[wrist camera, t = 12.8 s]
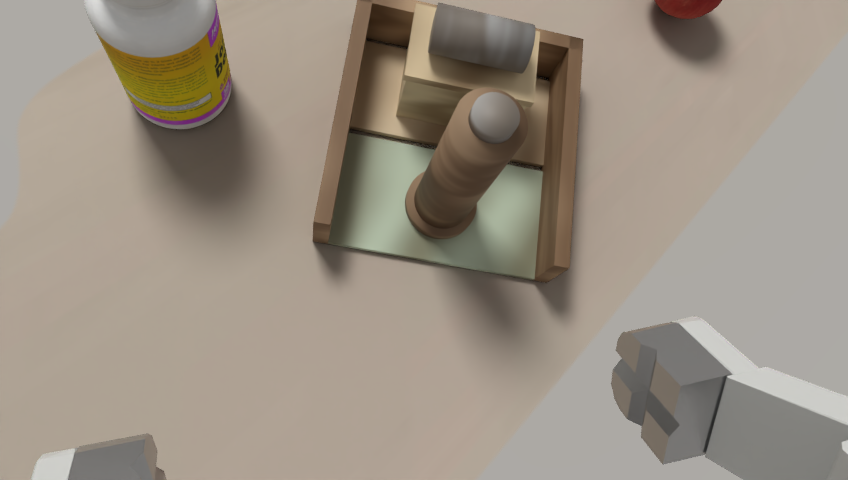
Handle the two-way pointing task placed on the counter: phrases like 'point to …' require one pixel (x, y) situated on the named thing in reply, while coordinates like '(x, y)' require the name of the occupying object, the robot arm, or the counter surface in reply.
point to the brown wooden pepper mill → (466, 162)
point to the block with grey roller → (464, 60)
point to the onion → (687, 7)
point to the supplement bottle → (166, 57)
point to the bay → (401, 163)
